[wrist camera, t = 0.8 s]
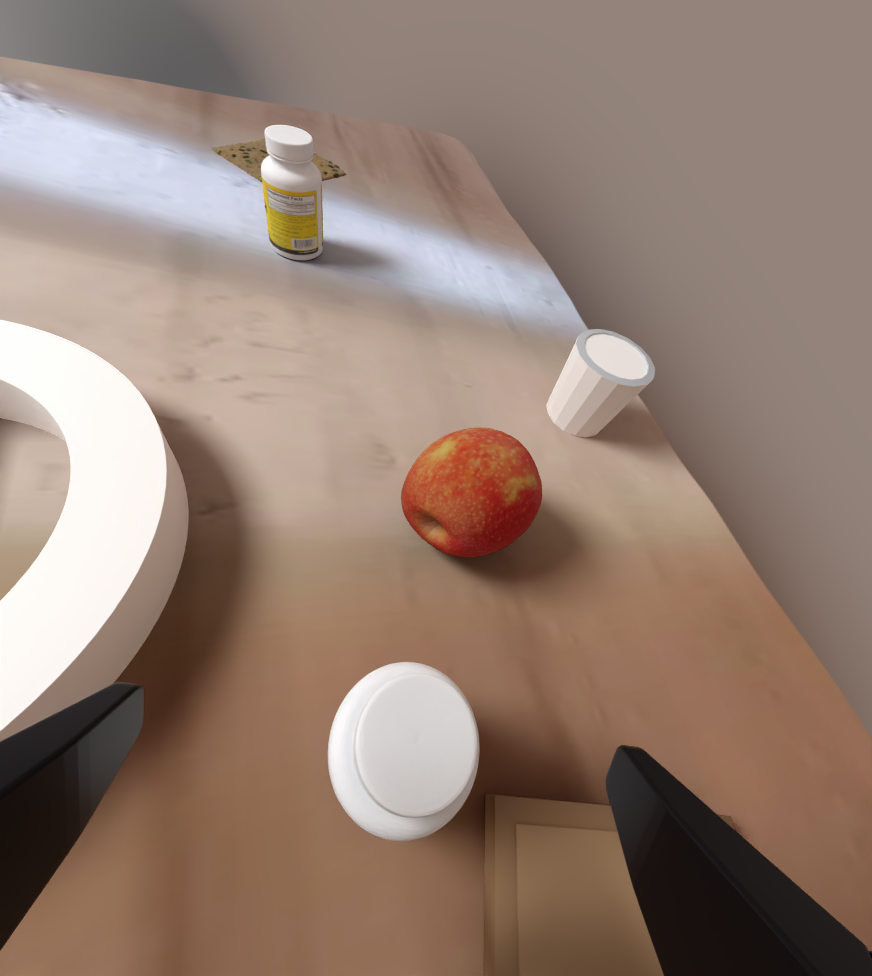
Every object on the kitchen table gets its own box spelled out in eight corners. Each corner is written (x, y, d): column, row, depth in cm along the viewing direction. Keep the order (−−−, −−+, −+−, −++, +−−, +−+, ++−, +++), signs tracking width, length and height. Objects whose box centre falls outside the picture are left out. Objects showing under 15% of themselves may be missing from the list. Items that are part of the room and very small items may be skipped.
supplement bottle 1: (286, 228, 46) (277, 115, 38) (331, 246, 46) (332, 137, 38) (258, 248, 43) (243, 130, 35) (307, 268, 42) (302, 154, 34)
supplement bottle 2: (457, 757, 22) (536, 755, 14) (369, 848, 19) (401, 915, 11) (394, 667, 24) (431, 615, 15) (306, 739, 21) (292, 723, 13)
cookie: (284, 139, 59) (284, 131, 58) (347, 178, 56) (348, 170, 56) (209, 152, 52) (207, 143, 51) (277, 196, 50) (276, 187, 49)
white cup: (554, 443, 36) (596, 384, 31) (531, 387, 40) (565, 324, 34) (620, 442, 38) (671, 386, 33) (591, 389, 42) (633, 330, 36)
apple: (530, 543, 30) (585, 483, 24) (436, 599, 26) (472, 545, 20) (467, 462, 33) (502, 389, 26) (375, 502, 29) (389, 427, 23)
